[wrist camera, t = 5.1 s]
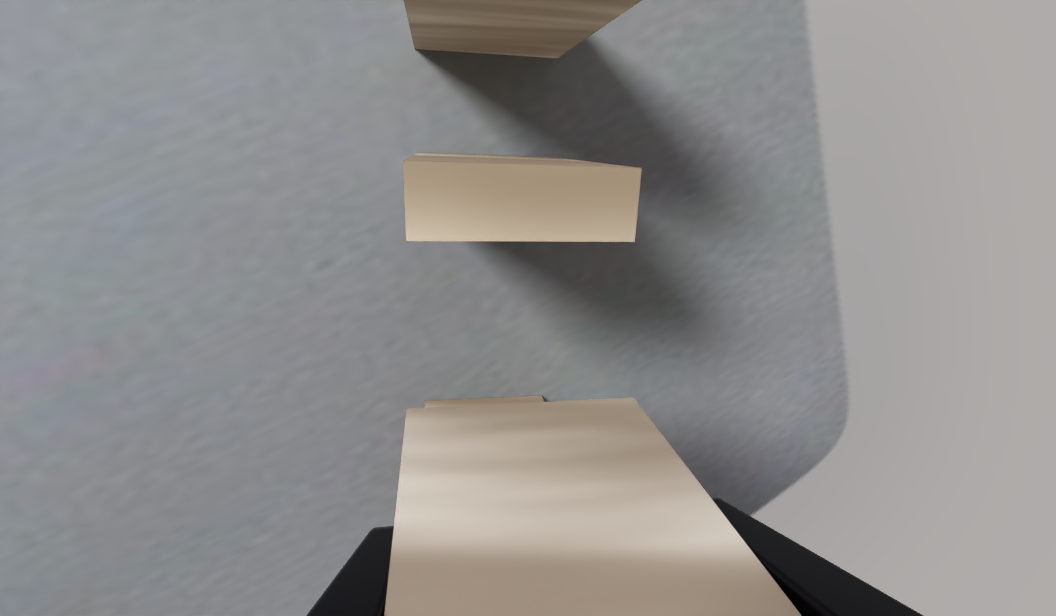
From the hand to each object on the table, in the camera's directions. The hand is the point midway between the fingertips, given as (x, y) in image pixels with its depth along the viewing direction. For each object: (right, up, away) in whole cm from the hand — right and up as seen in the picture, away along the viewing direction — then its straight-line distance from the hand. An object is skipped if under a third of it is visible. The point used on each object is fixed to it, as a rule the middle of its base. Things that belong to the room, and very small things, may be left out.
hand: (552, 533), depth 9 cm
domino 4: (-2, +9, +11) cm, 14 cm away
